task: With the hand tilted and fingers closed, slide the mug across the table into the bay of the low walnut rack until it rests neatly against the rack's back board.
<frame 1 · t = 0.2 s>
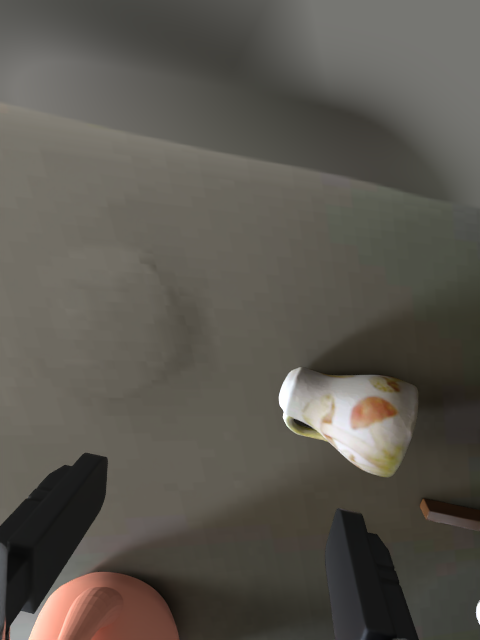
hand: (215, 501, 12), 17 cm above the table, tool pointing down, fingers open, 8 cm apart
mug: (336, 395, 29), on the table
teapot: (121, 604, 38), on the table
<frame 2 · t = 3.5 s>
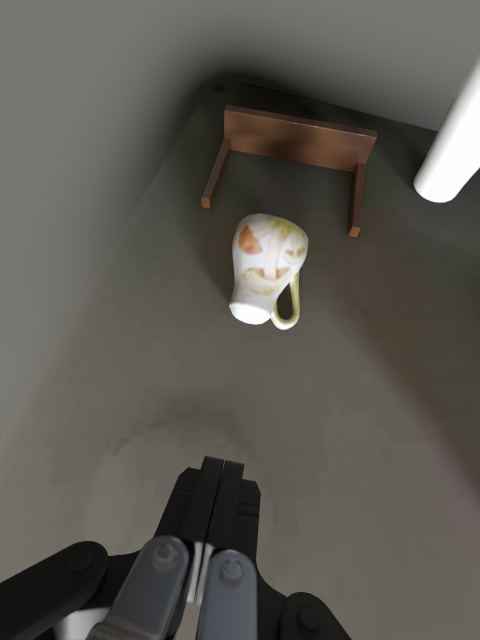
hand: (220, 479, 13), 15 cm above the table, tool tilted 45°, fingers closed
walnut rack: (285, 189, 42), on the table
mug: (262, 291, 35), on the table
drinking glass: (431, 190, 43), on the table
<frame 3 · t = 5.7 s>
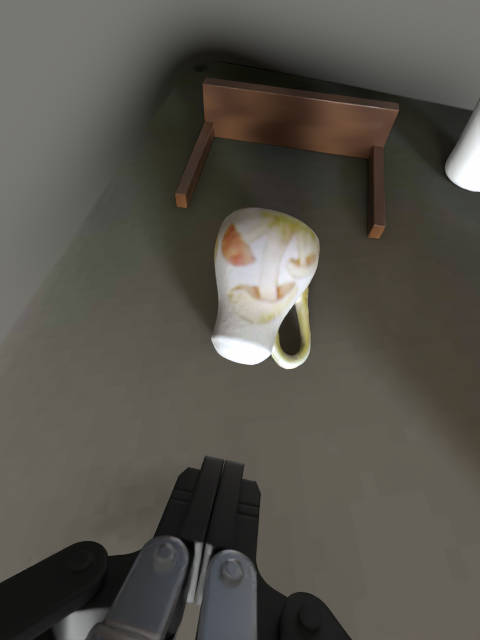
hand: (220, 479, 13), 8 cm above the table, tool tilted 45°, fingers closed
walnut rack: (283, 181, 33), on the table
mug: (258, 315, 26), on the table
drinking glass: (467, 178, 34), on the table
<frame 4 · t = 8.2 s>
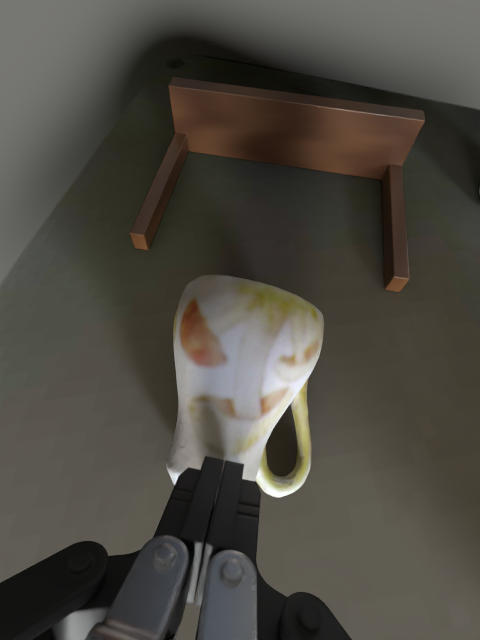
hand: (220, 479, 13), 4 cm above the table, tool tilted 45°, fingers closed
walnut rack: (274, 211, 26), on the table
mug: (239, 405, 19), on the table, touching gripper
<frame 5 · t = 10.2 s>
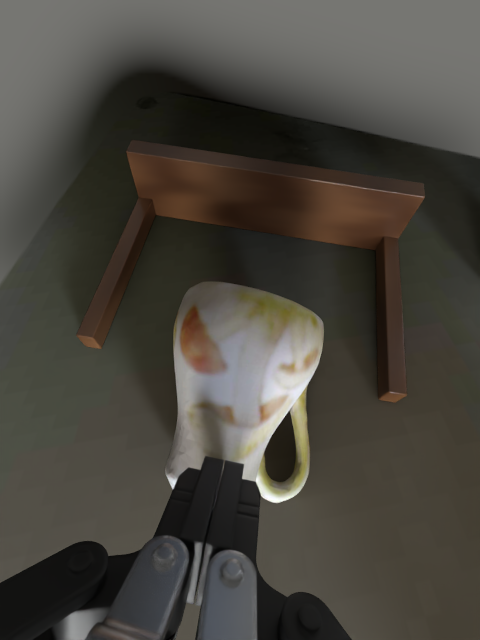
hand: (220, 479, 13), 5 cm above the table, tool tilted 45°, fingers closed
walnut rack: (251, 294, 22), on the table
mug: (238, 410, 19), on the table, touching gripper
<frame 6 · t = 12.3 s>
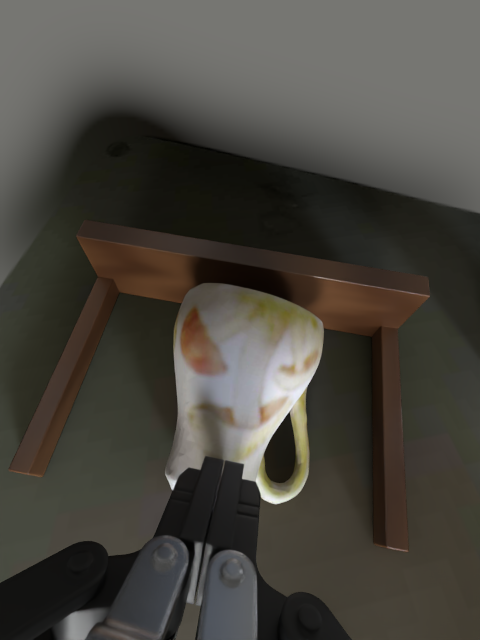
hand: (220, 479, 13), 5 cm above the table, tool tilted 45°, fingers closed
walnut rack: (226, 398, 19), on the table
mug: (238, 411, 19), on the table, touching gripper
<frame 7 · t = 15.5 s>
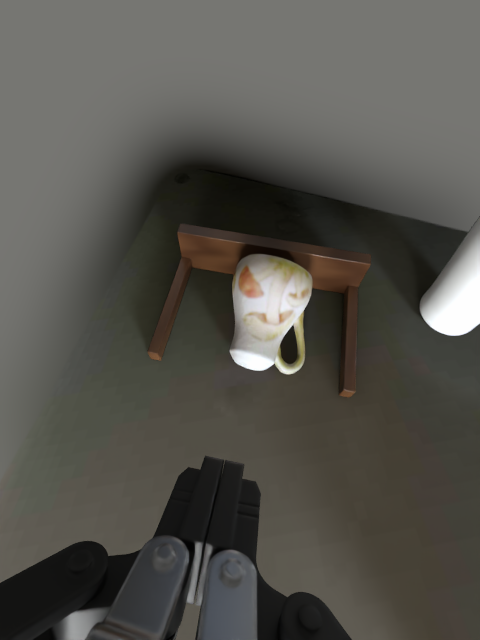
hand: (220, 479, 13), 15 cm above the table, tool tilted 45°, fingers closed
walnut rack: (258, 324, 33), on the table
mug: (264, 331, 33), on the table
drinking glass: (442, 315, 34), on the table
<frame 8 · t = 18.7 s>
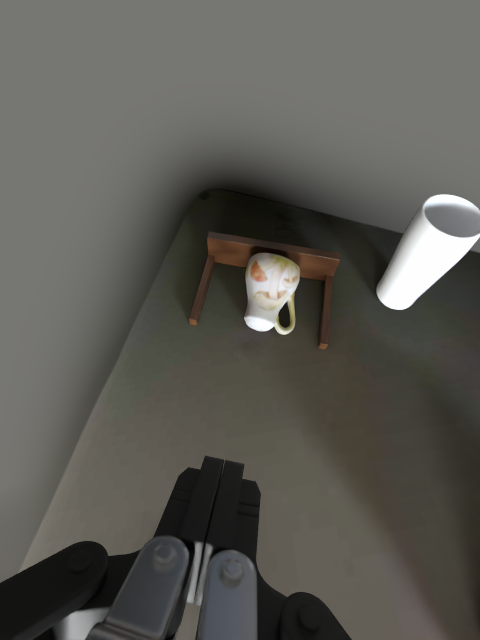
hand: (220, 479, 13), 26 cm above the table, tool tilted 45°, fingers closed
walnut rack: (263, 302, 47), on the table
mug: (267, 307, 47), on the table
drinking glass: (393, 296, 49), on the table
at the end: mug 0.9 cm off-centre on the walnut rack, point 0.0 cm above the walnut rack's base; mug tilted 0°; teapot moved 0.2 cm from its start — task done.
